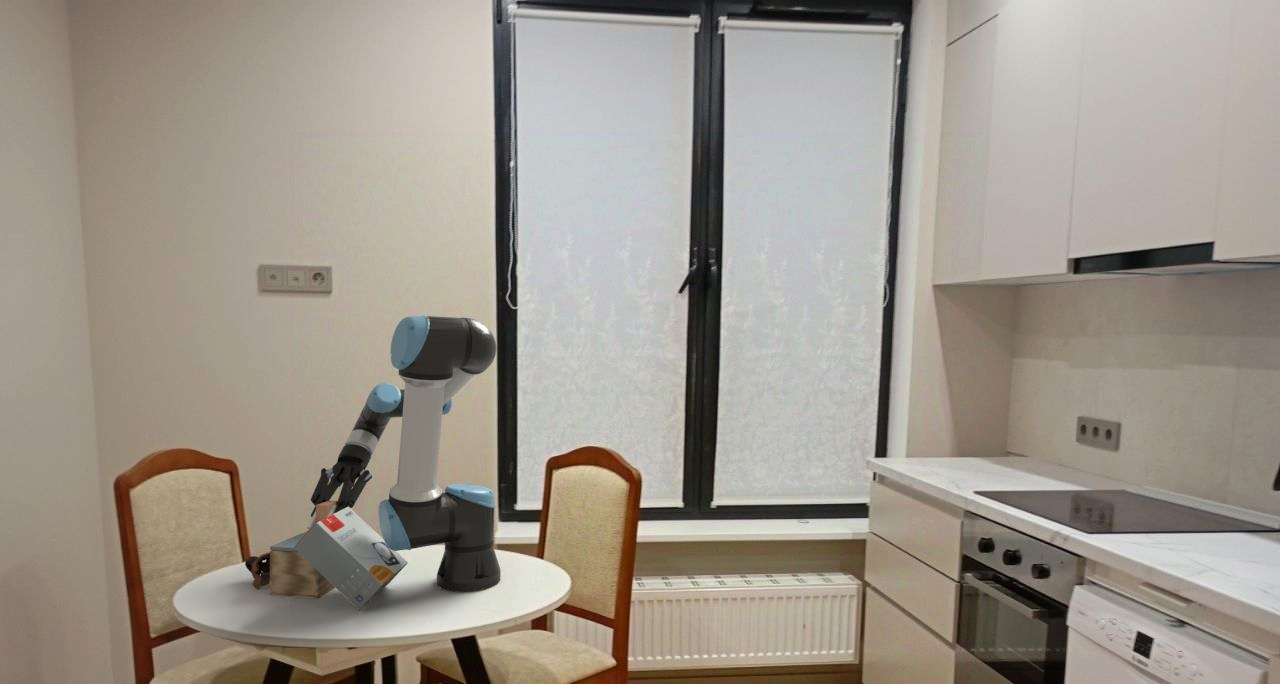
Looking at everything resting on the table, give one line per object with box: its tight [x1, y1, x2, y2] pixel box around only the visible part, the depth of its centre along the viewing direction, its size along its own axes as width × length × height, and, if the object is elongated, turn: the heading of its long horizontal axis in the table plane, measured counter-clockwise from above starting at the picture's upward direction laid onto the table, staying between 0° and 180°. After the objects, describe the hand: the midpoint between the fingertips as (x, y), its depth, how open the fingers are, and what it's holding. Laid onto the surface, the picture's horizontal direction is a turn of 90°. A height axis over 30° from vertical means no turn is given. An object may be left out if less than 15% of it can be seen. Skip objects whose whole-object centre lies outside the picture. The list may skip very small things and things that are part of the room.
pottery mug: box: [244, 551, 270, 590], centre depth 159 cm, size 12×10×8 cm
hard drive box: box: [294, 507, 409, 611], centre depth 150 cm, size 16×8×20 cm
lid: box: [269, 500, 337, 552], centre depth 158 cm, size 13×14×8 cm
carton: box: [268, 550, 336, 599], centre depth 157 cm, size 12×14×10 cm
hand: (318, 530), depth 159 cm, fingers closed on lid, 3 cm apart
